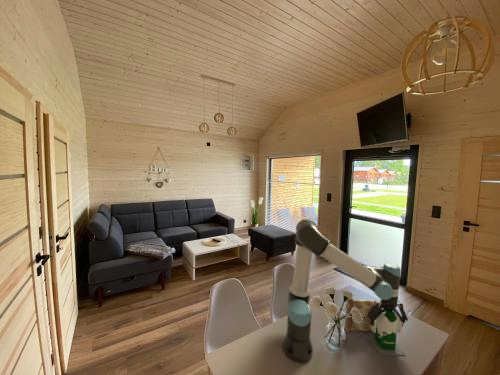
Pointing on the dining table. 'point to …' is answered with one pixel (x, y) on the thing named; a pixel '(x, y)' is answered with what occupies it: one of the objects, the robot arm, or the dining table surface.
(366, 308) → the door
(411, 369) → the dining table surface
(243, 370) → the dining table surface
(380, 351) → the keeper pad
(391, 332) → the soya milk
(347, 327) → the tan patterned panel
